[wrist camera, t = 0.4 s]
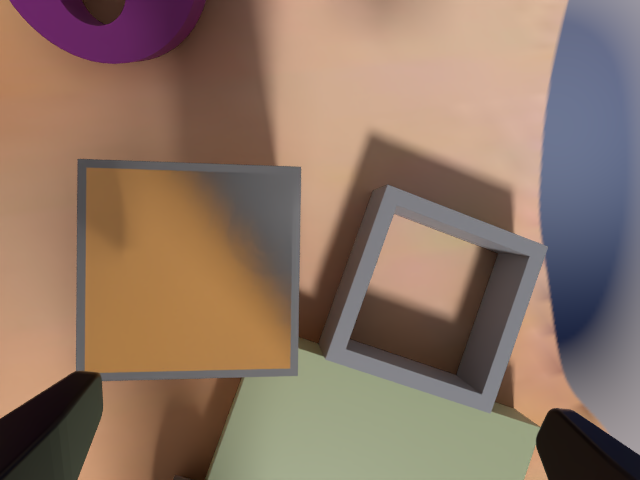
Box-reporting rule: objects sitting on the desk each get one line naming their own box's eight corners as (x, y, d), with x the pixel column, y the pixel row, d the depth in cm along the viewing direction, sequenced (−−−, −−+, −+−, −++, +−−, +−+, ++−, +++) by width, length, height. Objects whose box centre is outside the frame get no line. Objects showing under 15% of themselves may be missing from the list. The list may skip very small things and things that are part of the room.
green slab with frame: (469, 617, 25) (511, 699, 20) (153, 535, 22) (125, 608, 18) (586, 272, 25) (652, 280, 21) (290, 159, 23) (294, 141, 19)
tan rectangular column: (286, 303, 23) (305, 383, 11) (179, 303, 22) (66, 390, 10) (287, 199, 23) (308, 159, 11) (180, 196, 22) (69, 150, 10)
